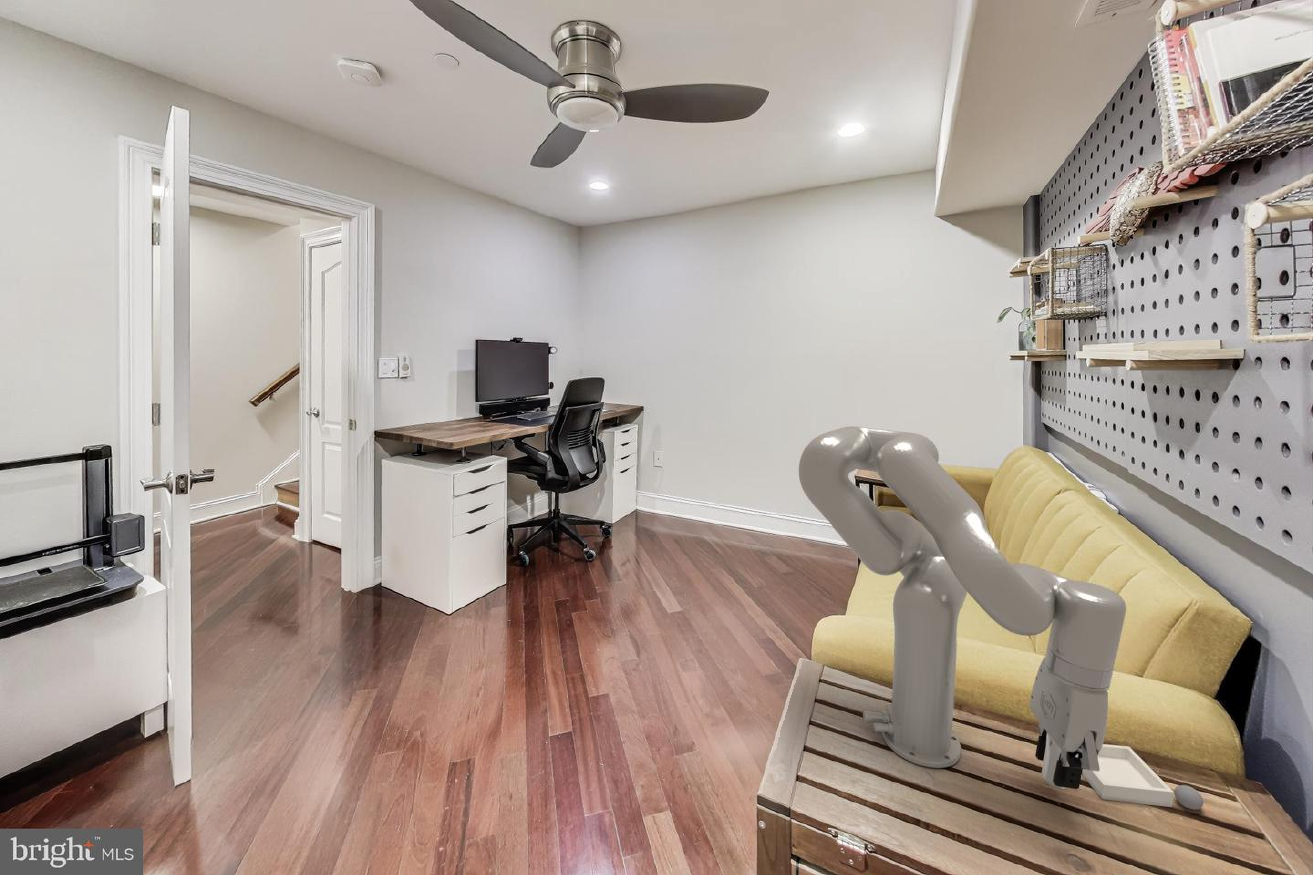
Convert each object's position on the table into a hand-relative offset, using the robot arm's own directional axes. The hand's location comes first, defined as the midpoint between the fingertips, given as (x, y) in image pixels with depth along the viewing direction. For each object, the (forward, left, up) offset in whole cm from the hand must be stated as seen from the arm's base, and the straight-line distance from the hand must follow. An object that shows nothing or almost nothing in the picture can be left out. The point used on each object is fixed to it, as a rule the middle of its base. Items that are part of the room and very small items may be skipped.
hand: (1056, 771), depth 77 cm
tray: (+12, +5, -4) cm, 13 cm away
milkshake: (0, 0, -2) cm, 2 cm away
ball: (+19, +1, -4) cm, 19 cm away
